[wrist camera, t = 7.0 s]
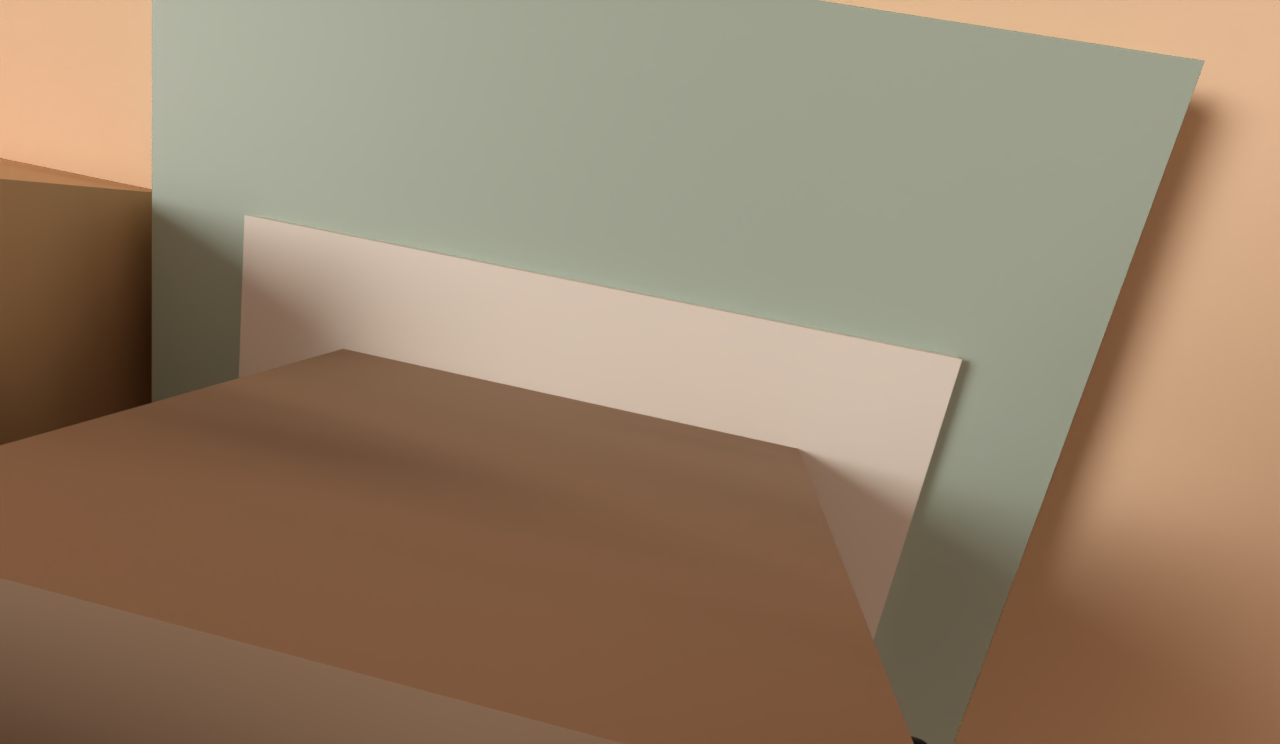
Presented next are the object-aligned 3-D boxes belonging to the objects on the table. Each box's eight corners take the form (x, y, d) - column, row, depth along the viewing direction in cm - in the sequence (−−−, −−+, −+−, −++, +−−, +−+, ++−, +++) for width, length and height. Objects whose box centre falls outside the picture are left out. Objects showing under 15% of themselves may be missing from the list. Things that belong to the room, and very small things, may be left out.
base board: (811, 1047, 11) (820, 1128, 10) (188, 862, 12) (141, 917, 11) (1150, 80, 7) (1220, 55, 6) (207, -71, 8) (136, -115, 7)
